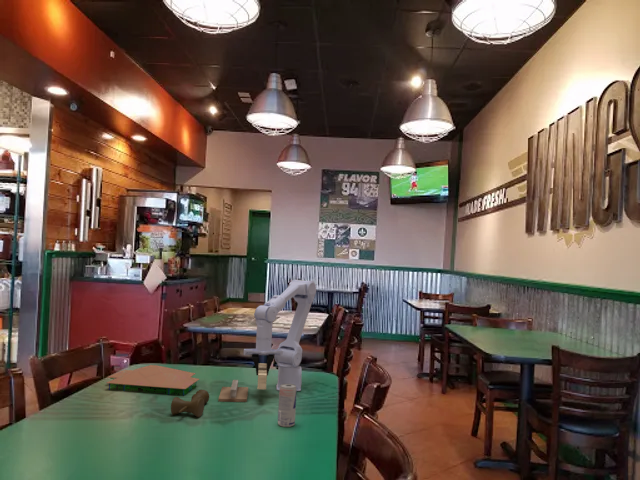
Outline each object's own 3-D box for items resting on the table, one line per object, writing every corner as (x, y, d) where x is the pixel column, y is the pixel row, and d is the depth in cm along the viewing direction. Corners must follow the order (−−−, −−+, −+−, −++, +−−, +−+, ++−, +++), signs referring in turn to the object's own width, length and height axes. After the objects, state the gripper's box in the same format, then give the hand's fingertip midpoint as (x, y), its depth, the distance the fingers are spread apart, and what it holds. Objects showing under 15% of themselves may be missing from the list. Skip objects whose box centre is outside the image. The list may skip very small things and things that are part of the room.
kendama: (215, 406, 170) (193, 423, 150) (189, 404, 171) (164, 421, 151) (216, 388, 170) (194, 403, 151) (190, 386, 172) (165, 401, 152)
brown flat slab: (128, 376, 203) (130, 356, 204) (205, 382, 200) (206, 362, 200) (98, 391, 180) (99, 368, 181) (184, 397, 177) (186, 375, 177)
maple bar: (258, 376, 191) (258, 363, 192) (265, 376, 192) (266, 363, 192) (257, 389, 172) (258, 374, 172) (266, 389, 172) (266, 375, 172)
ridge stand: (248, 389, 190) (248, 379, 190) (246, 402, 174) (247, 390, 174) (222, 389, 189) (222, 378, 189) (218, 401, 173) (218, 390, 173)
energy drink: (295, 422, 155) (297, 384, 156) (293, 428, 150) (295, 388, 150) (279, 420, 156) (281, 382, 156) (276, 426, 150) (278, 387, 151)
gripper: (244, 339, 178) (242, 376, 177) (283, 340, 179) (282, 377, 179) (244, 336, 185) (242, 372, 184) (283, 337, 186) (281, 373, 186)
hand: (262, 374), depth 182 cm, fingers closed on maple bar, 3 cm apart
